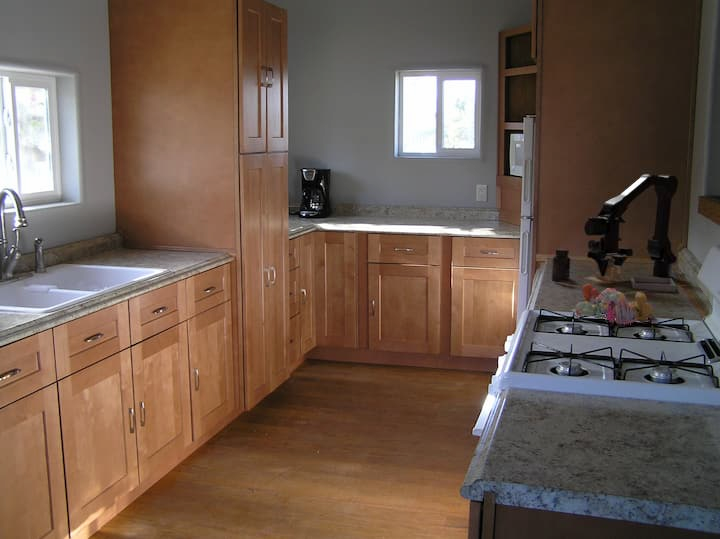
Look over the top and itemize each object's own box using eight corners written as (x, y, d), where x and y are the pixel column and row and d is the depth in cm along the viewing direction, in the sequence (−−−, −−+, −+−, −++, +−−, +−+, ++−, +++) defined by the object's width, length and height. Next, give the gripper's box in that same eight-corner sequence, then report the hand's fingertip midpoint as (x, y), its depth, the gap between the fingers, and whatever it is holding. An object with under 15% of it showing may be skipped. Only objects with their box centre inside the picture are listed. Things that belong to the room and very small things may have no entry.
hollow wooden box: (608, 276, 303) (608, 263, 302) (625, 280, 296) (626, 267, 295) (596, 278, 300) (597, 265, 299) (613, 281, 293) (614, 268, 292)
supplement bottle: (571, 282, 295) (573, 251, 293) (553, 282, 295) (555, 250, 293) (567, 279, 302) (569, 248, 300) (549, 278, 302) (551, 248, 300)
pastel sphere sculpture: (653, 311, 250) (655, 283, 249) (658, 329, 228) (661, 298, 226) (571, 306, 257) (573, 278, 255) (569, 322, 235) (571, 292, 233)
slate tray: (630, 282, 295) (631, 276, 295) (671, 285, 291) (671, 278, 291) (632, 290, 282) (633, 283, 281) (675, 292, 278) (675, 285, 277)
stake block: (603, 277, 306) (605, 255, 304) (628, 282, 296) (629, 260, 294) (581, 280, 300) (582, 257, 298) (605, 285, 290) (607, 262, 288)
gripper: (612, 231, 307) (609, 270, 310) (577, 233, 298) (575, 274, 301) (635, 234, 298) (632, 274, 301) (600, 237, 289) (597, 279, 291)
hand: (608, 275), depth 299 cm, fingers closed on hollow wooden box, 6 cm apart
